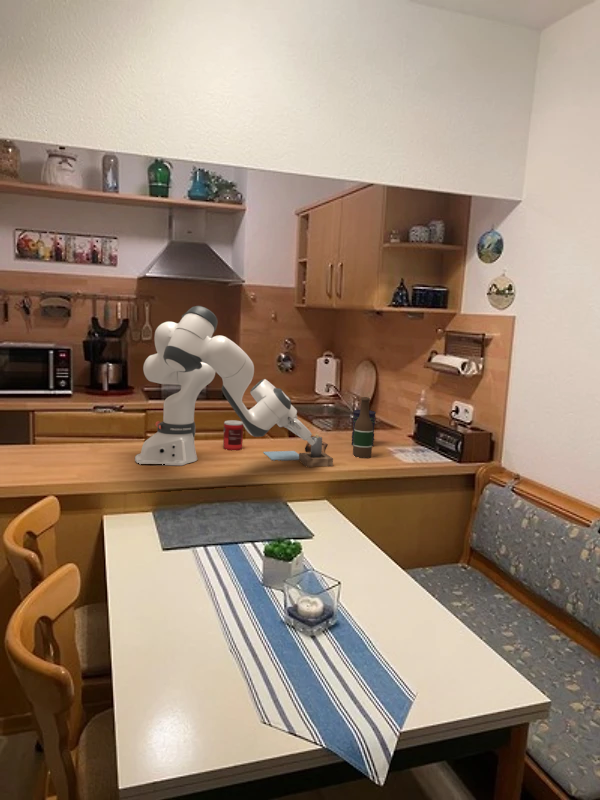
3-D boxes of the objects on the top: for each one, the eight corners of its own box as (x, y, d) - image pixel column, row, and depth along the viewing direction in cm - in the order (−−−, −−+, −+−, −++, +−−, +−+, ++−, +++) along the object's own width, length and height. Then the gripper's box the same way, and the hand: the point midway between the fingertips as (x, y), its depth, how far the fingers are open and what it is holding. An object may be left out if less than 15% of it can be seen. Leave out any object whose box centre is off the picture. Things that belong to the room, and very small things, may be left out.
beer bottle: (368, 459, 242) (372, 399, 239) (350, 457, 245) (353, 397, 241) (373, 455, 249) (377, 397, 246) (355, 453, 252) (358, 395, 249)
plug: (312, 464, 229) (313, 435, 227) (308, 462, 233) (310, 433, 231) (322, 464, 230) (323, 435, 229) (318, 462, 234) (320, 433, 232)
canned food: (231, 445, 255) (232, 419, 254) (246, 448, 251) (247, 422, 249) (219, 448, 249) (219, 421, 247) (233, 451, 244) (234, 424, 243)
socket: (307, 467, 225) (307, 459, 225) (298, 460, 235) (299, 452, 234) (332, 466, 228) (333, 458, 228) (323, 459, 238) (323, 452, 237)
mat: (271, 460, 232) (271, 459, 232) (263, 452, 245) (263, 451, 244) (304, 459, 236) (304, 458, 236) (294, 452, 249) (294, 450, 248)
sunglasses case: (325, 453, 249) (318, 438, 248) (310, 460, 250) (302, 446, 249) (328, 444, 267) (321, 430, 266) (313, 451, 268) (306, 438, 267)
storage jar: (377, 447, 266) (379, 413, 264) (357, 447, 262) (359, 413, 260) (367, 442, 275) (369, 409, 273) (347, 442, 272) (349, 409, 269)
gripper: (299, 414, 215) (324, 441, 219) (283, 405, 234) (306, 430, 238) (286, 426, 214) (312, 453, 218) (272, 416, 234) (295, 441, 238)
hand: (309, 441), depth 229 cm, fingers open, 8 cm apart
